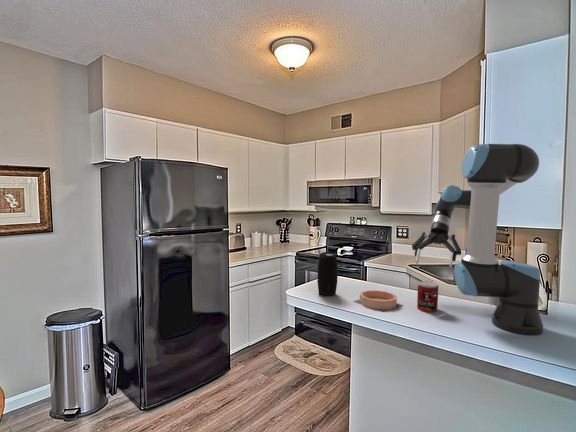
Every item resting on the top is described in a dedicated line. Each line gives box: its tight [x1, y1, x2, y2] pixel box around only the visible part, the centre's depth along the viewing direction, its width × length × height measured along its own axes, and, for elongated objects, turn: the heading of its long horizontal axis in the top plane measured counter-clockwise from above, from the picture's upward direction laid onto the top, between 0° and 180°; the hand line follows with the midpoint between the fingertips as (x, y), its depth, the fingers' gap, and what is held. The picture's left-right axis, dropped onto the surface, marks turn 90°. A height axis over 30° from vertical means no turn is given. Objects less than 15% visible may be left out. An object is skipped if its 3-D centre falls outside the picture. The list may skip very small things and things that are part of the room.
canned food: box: [416, 280, 439, 313], centre depth 133 cm, size 8×8×11 cm
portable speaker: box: [316, 251, 339, 298], centre depth 151 cm, size 9×9×20 cm
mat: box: [352, 299, 404, 313], centre depth 140 cm, size 16×14×1 cm
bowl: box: [359, 289, 398, 310], centre depth 140 cm, size 15×15×4 cm
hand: (432, 264), depth 142 cm, fingers open, 13 cm apart
